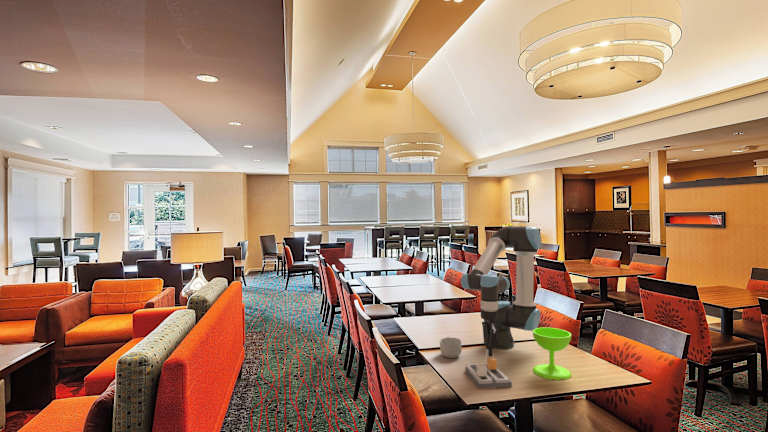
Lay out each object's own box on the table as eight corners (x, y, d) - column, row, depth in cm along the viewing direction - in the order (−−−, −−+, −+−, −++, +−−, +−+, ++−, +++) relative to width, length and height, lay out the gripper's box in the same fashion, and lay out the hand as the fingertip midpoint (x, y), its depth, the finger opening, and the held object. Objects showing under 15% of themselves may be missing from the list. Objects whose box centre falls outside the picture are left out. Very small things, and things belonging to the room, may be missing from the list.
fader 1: (484, 376, 166) (484, 363, 166) (486, 378, 163) (486, 366, 163) (476, 376, 166) (476, 363, 166) (479, 379, 163) (479, 366, 163)
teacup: (461, 360, 190) (461, 344, 190) (439, 359, 192) (438, 343, 192) (461, 351, 204) (461, 335, 204) (440, 349, 206) (440, 334, 206)
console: (495, 369, 179) (495, 362, 179) (511, 386, 161) (511, 379, 161) (465, 371, 177) (465, 364, 177) (478, 388, 159) (478, 380, 159)
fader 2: (494, 369, 173) (494, 357, 173) (496, 371, 170) (496, 359, 170) (487, 369, 173) (487, 357, 173) (489, 372, 170) (489, 360, 170)
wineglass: (527, 365, 183) (527, 327, 183) (562, 365, 183) (562, 327, 183) (540, 380, 167) (540, 338, 167) (578, 380, 167) (578, 338, 167)
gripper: (476, 306, 180) (476, 357, 180) (486, 313, 167) (486, 368, 167) (492, 306, 181) (492, 357, 181) (503, 313, 168) (503, 367, 168)
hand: (489, 362), depth 174 cm, fingers closed
